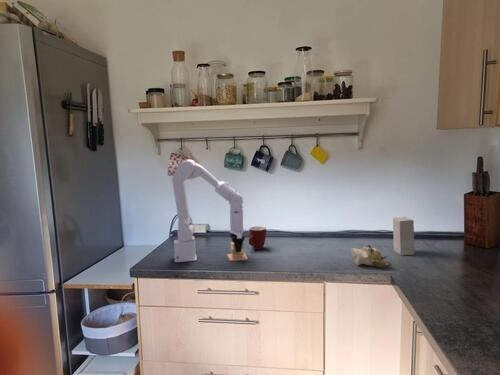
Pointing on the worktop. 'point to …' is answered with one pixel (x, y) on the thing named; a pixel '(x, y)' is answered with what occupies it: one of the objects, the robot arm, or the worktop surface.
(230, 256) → the coaster
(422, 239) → the worktop surface
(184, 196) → the robot arm
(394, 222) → the skincare box
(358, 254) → the ceramic sculpture
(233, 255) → the block
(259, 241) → the mug
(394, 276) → the worktop surface
